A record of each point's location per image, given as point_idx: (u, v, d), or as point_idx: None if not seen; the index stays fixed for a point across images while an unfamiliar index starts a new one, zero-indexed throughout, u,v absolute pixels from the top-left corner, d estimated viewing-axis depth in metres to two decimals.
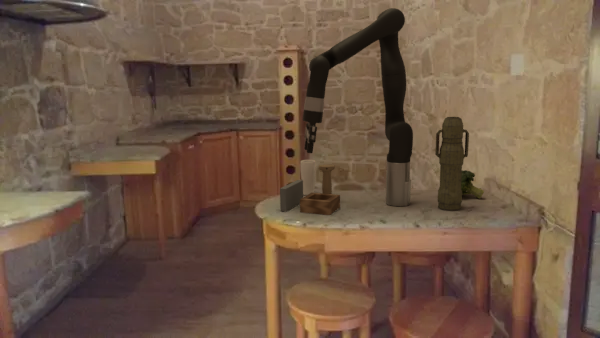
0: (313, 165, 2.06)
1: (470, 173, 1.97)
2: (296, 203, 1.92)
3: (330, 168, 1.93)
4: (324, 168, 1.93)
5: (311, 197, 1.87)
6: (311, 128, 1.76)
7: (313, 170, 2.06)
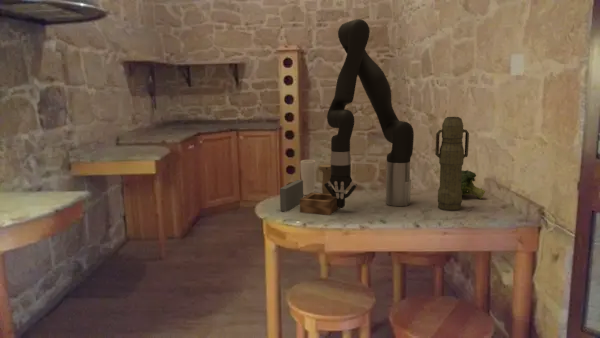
0: (313, 165, 2.06)
1: (471, 173, 1.97)
2: (296, 203, 1.92)
3: (330, 168, 1.93)
4: (324, 168, 1.93)
5: (311, 197, 1.87)
6: (355, 188, 1.77)
7: (313, 170, 2.06)
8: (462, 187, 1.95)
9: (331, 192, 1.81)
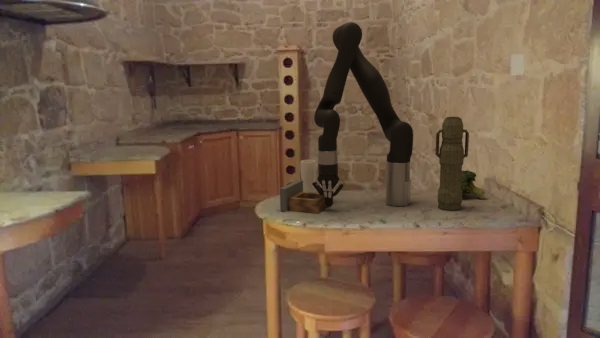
0: (313, 165, 2.06)
1: (471, 173, 1.97)
2: None
3: None
4: None
5: (300, 196, 1.89)
6: (342, 186, 1.79)
7: (313, 170, 2.06)
8: (462, 187, 1.95)
9: (319, 191, 1.83)
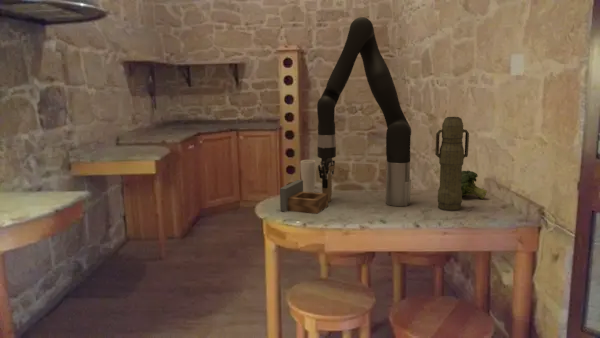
0: (313, 165, 2.06)
1: (472, 173, 1.97)
2: None
3: (330, 168, 1.93)
4: None
5: (299, 196, 1.89)
6: None
7: (313, 170, 2.06)
8: (464, 187, 1.94)
9: (325, 174, 1.91)
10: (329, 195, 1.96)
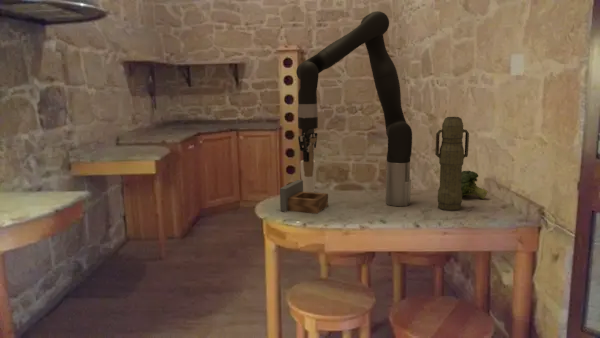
0: None
1: (473, 173, 1.96)
2: None
3: (311, 140, 1.80)
4: None
5: (299, 196, 1.89)
6: None
7: (313, 170, 2.06)
8: (464, 187, 1.94)
9: (306, 146, 1.78)
10: (311, 169, 1.83)
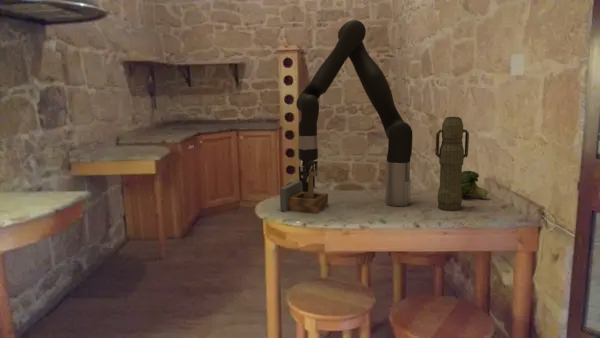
0: None
1: (474, 173, 1.96)
2: None
3: (312, 173, 1.82)
4: None
5: (299, 196, 1.89)
6: None
7: None
8: (465, 187, 1.94)
9: (305, 176, 1.79)
10: None
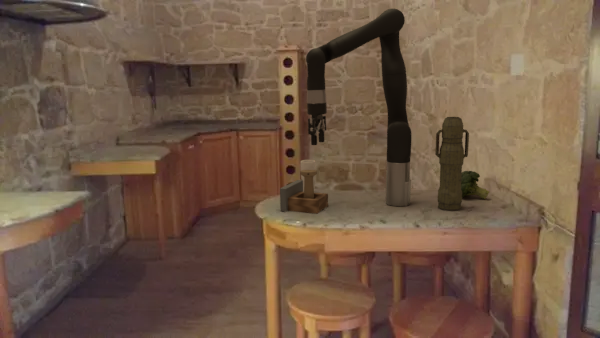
0: (313, 165, 2.06)
1: (475, 173, 1.96)
2: None
3: (312, 173, 1.82)
4: (305, 173, 1.82)
5: (299, 196, 1.89)
6: None
7: None
8: (466, 187, 1.94)
9: (314, 129, 1.80)
10: None
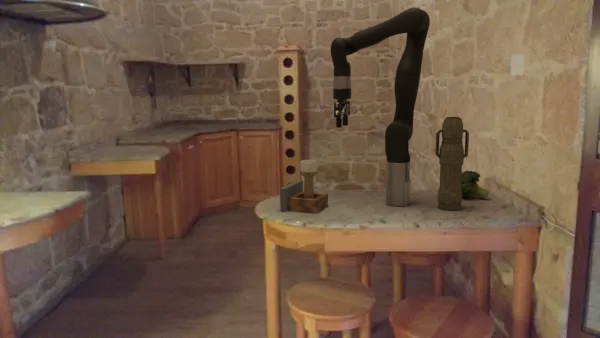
0: (313, 165, 2.06)
1: (475, 173, 1.96)
2: None
3: (312, 173, 1.82)
4: (305, 173, 1.82)
5: (299, 196, 1.89)
6: None
7: None
8: (466, 187, 1.94)
9: (340, 112, 1.94)
10: None
